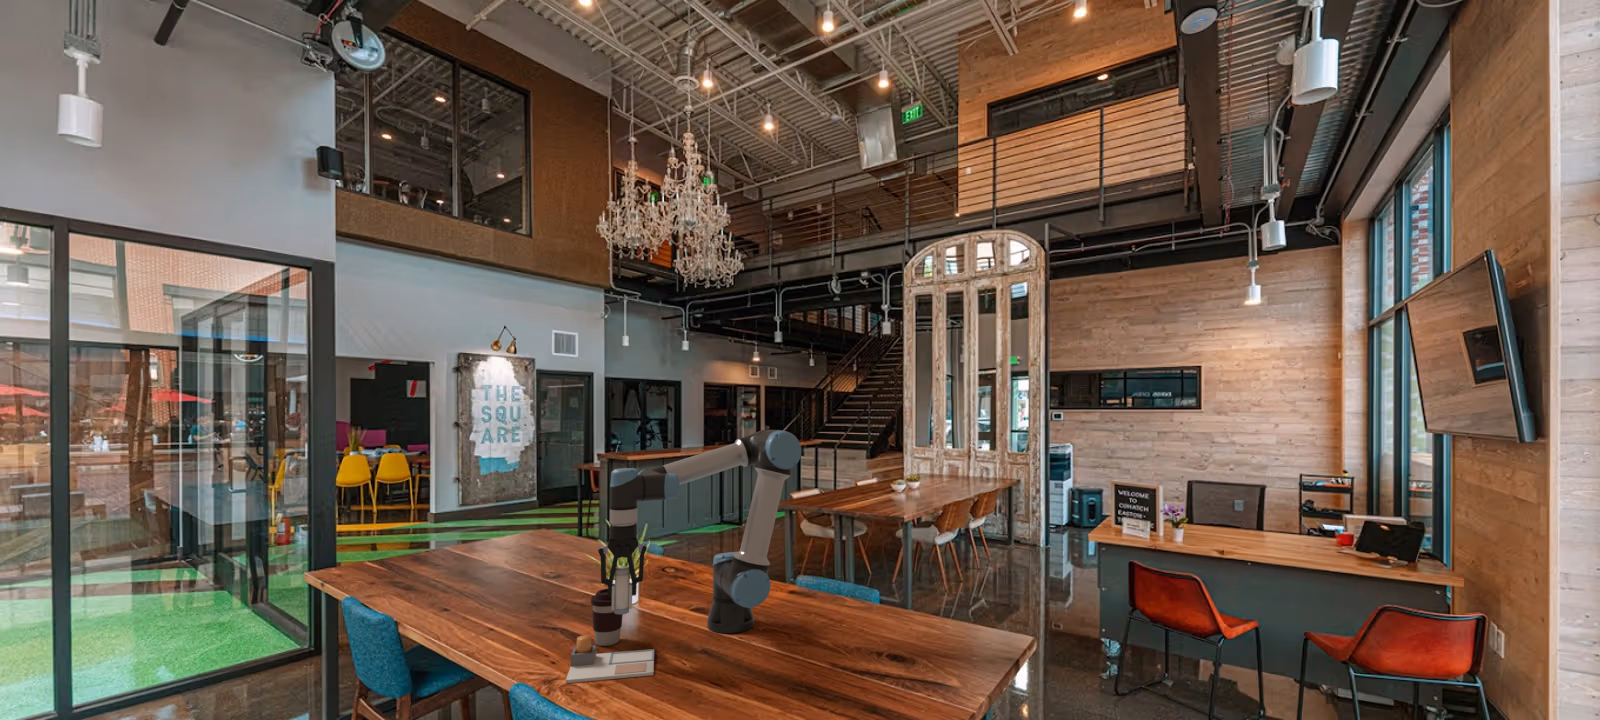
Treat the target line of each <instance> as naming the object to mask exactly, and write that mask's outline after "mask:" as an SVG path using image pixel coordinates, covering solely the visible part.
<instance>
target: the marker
mask: <svg viewBox="0 0 1600 720" xmlns="http://www.w3.org/2000/svg"><path fill="white" fill-rule="evenodd" d="M630 581H631V575H630V570H629V566H618V567H616V570H615V575H614V584H615V612H614V613H615V614H623V615H626V614H629V613H630V609H629V584H630V583H631V582H630Z"/></svg>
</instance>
